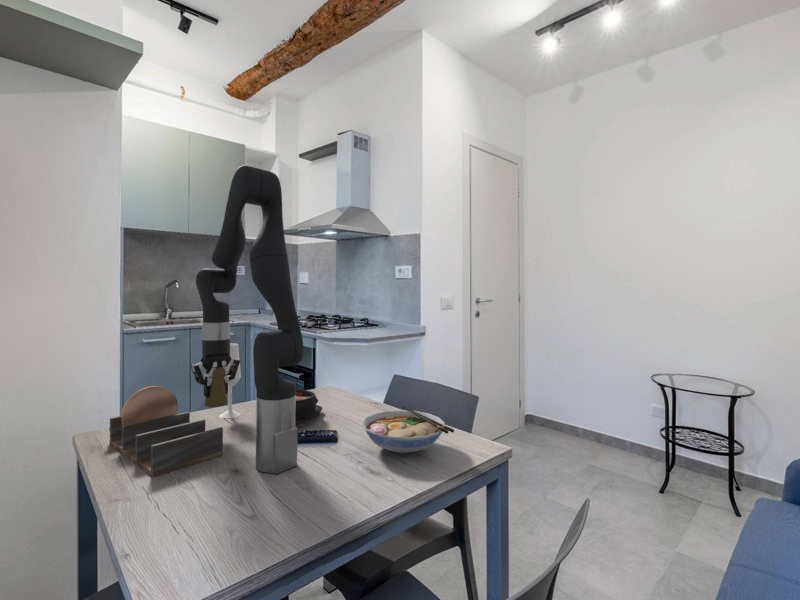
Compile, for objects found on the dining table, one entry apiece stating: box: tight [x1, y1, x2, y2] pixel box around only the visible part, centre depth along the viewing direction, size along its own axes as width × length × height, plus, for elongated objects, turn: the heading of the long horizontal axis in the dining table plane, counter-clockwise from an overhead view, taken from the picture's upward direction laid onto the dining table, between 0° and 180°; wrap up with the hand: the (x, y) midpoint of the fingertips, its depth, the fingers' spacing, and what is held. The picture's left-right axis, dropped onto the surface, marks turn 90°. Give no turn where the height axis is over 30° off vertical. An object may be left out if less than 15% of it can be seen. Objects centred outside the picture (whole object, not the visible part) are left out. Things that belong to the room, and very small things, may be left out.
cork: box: [204, 367, 228, 408], centre depth 118 cm, size 6×6×11 cm
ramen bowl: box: [361, 405, 455, 455], centre depth 112 cm, size 25×23×8 cm
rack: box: [109, 385, 224, 478], centre depth 108 cm, size 30×16×15 cm, turn 51°
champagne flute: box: [218, 342, 242, 420], centre depth 137 cm, size 7×7×24 cm
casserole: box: [295, 389, 323, 426], centre depth 134 cm, size 25×19×8 cm
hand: (216, 396), depth 119 cm, fingers closed on cork, 3 cm apart
